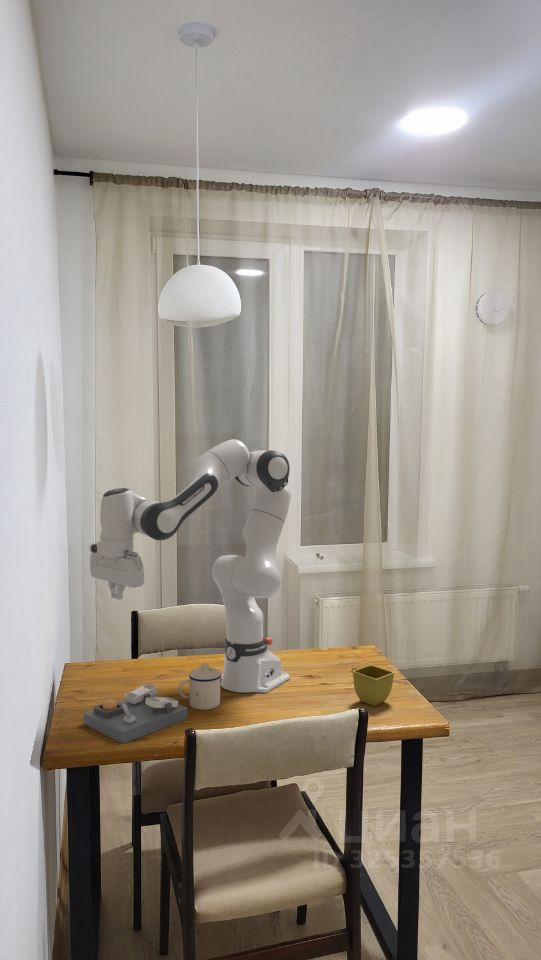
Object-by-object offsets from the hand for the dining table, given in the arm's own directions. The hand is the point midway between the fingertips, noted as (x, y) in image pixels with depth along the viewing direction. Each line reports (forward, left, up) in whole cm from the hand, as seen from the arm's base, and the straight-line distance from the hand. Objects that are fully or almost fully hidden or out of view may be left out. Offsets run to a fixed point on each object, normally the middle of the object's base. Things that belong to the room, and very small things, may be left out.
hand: (116, 598), depth 199 cm
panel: (+1, +10, -31) cm, 33 cm away
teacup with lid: (-18, +14, -31) cm, 39 cm away
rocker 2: (-4, +15, -26) cm, 30 cm away
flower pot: (-54, +48, -31) cm, 79 cm away
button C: (+7, +7, -28) cm, 29 cm away
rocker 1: (-4, +6, -26) cm, 27 cm away
